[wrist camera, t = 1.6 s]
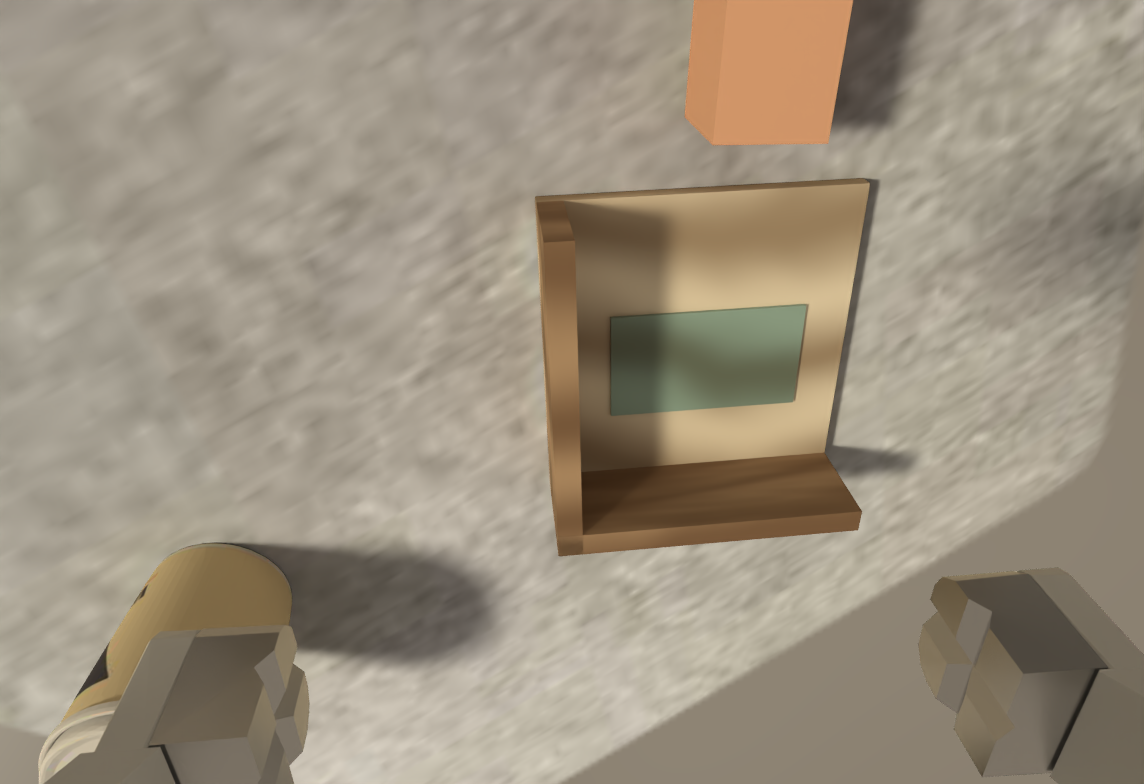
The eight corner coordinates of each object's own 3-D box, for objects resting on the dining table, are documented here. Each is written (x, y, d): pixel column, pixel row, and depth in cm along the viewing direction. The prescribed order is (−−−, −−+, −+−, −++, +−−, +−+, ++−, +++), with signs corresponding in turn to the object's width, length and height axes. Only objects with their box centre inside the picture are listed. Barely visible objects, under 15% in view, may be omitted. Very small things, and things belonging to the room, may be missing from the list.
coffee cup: (122, 527, 42) (6, 724, 32) (304, 533, 43) (249, 723, 33) (148, 648, 47) (54, 854, 36) (311, 650, 48) (265, 848, 38)
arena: (535, 196, 35) (543, 242, 30) (862, 178, 36) (923, 219, 31) (550, 483, 43) (558, 556, 38) (816, 461, 44) (857, 530, 39)
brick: (701, -103, 30) (738, -107, 26) (816, -101, 30) (871, -104, 26) (683, 116, 34) (712, 145, 30) (785, 115, 34) (828, 143, 30)
